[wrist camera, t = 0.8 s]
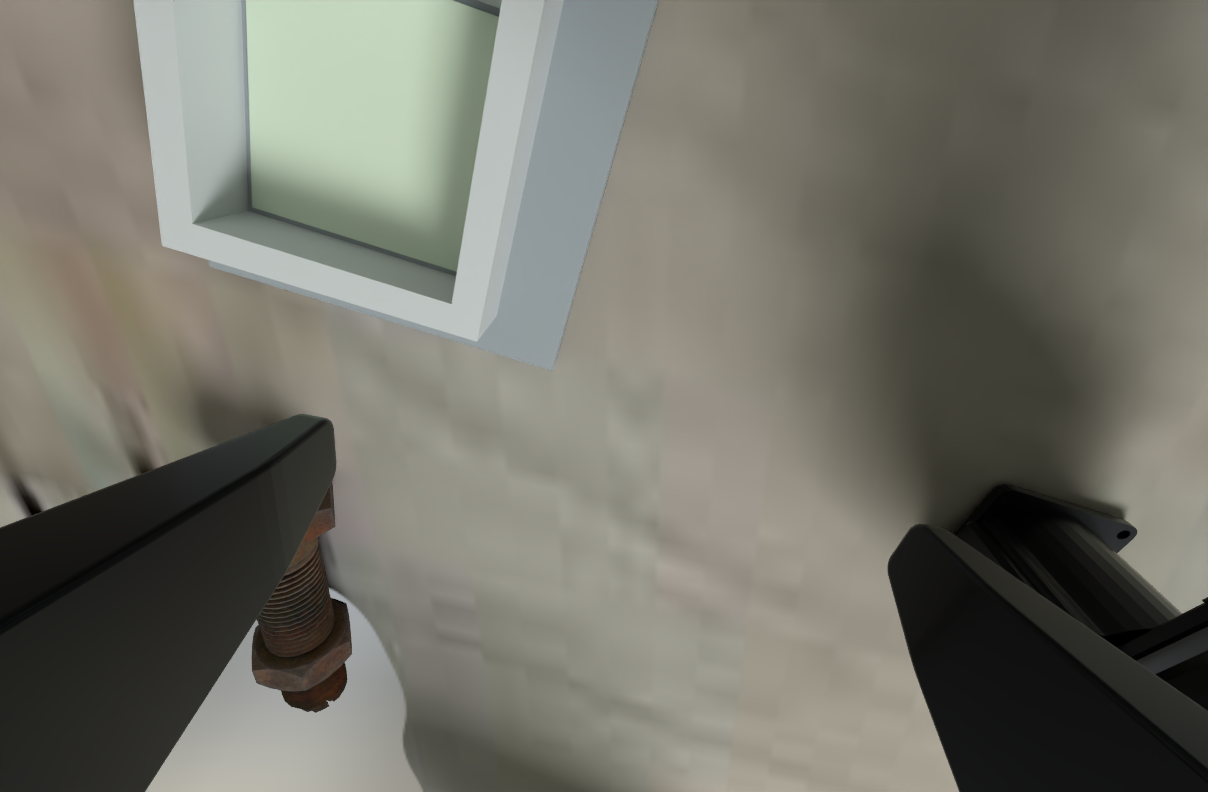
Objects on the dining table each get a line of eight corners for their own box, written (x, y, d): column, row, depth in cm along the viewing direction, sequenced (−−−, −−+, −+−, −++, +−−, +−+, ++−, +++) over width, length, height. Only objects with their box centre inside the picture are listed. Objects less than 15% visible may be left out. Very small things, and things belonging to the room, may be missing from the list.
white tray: (657, 4, 15) (661, -26, 12) (556, 360, 21) (540, 402, 18) (205, -163, 14) (81, -242, 11) (228, 259, 20) (151, 286, 17)
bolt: (338, 628, 33) (298, 437, 25) (389, 676, 31) (361, 484, 23) (239, 701, 29) (154, 498, 21) (290, 764, 26) (216, 562, 19)
